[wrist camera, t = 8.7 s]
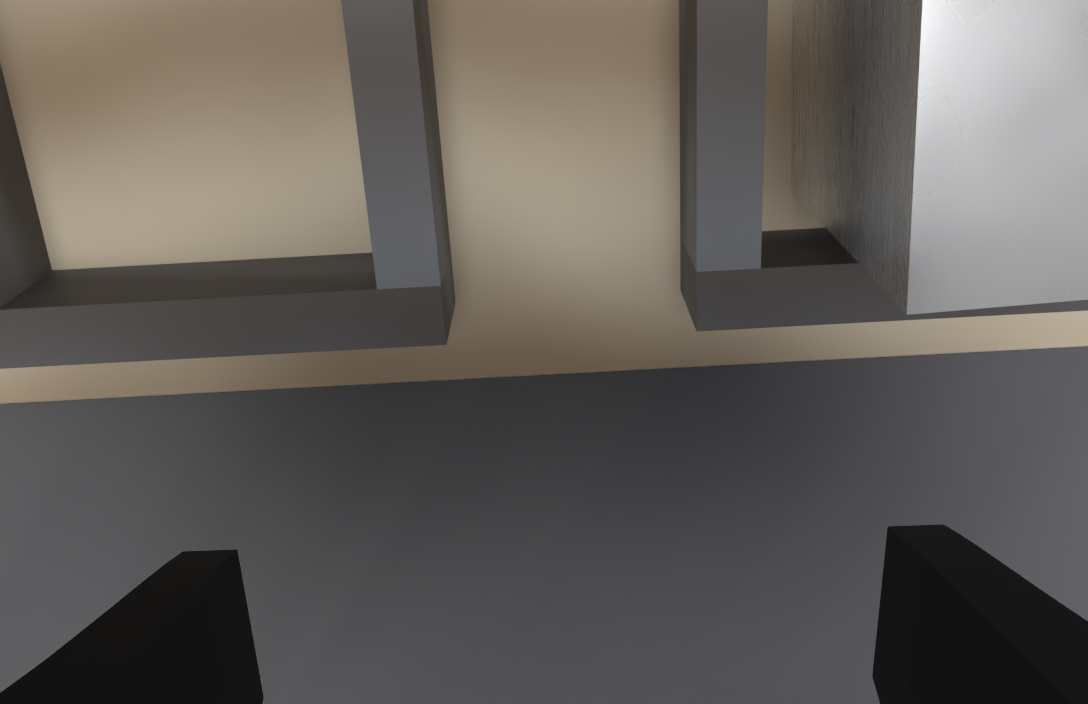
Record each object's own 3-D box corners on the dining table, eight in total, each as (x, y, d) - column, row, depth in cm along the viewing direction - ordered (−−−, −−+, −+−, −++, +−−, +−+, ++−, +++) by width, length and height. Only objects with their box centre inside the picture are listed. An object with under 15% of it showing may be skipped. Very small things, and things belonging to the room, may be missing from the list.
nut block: (1057, 167, 18) (1296, 282, 12) (791, 190, 18) (906, 314, 12) (1087, -124, 16) (1382, -146, 10) (792, -96, 16) (927, -102, 10)
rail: (1200, 318, 20) (1308, 383, 17) (-49, 385, 20) (-142, 459, 17) (1339, -369, 16) (1513, -432, 13) (-247, -268, 16) (-412, -308, 13)
